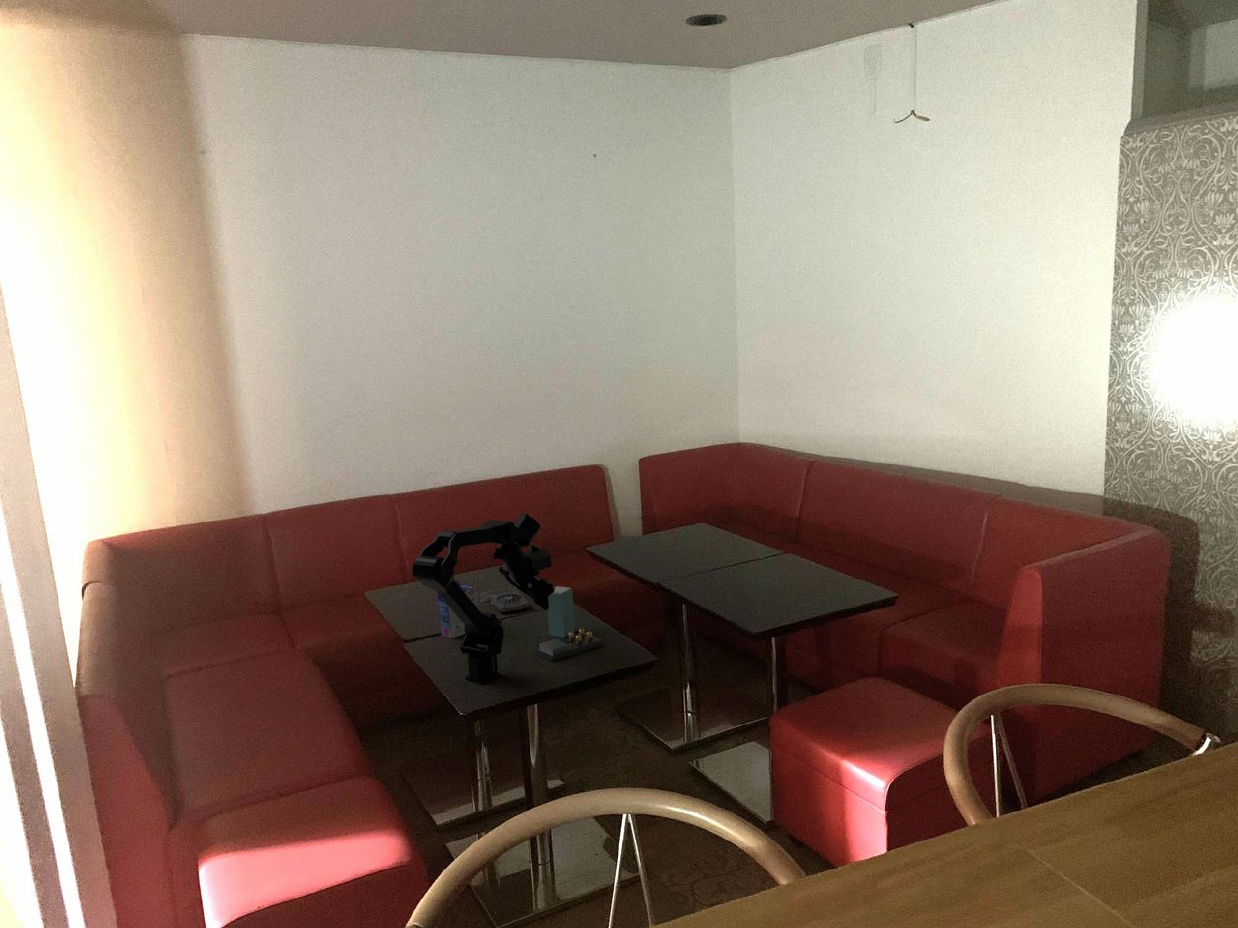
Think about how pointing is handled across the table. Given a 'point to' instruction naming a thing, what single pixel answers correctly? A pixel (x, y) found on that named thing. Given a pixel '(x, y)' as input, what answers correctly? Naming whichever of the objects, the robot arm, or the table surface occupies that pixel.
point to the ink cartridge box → (449, 619)
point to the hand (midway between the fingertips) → (538, 601)
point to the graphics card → (506, 599)
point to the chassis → (567, 646)
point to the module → (561, 612)
